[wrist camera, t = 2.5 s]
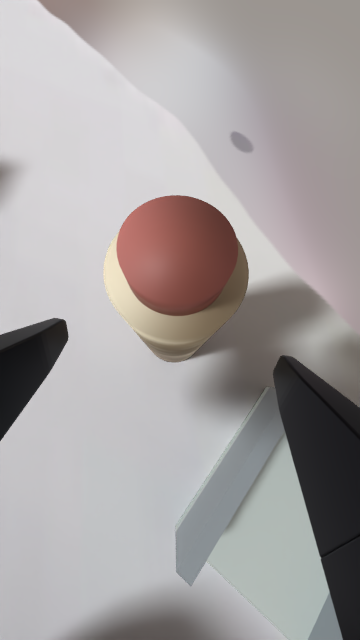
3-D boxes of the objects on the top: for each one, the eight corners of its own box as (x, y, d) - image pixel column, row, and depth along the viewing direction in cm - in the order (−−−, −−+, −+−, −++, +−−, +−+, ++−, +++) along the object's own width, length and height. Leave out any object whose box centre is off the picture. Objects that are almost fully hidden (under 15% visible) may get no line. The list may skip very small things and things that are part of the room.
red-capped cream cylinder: (142, 357, 18) (67, 314, 5) (152, 306, 19) (111, 164, 6) (196, 366, 18) (259, 345, 5) (203, 314, 19) (268, 188, 6)
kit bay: (175, 526, 15) (176, 572, 11) (266, 386, 18) (290, 389, 14) (309, 653, 14) (357, 749, 10) (387, 481, 16) (446, 510, 13)
